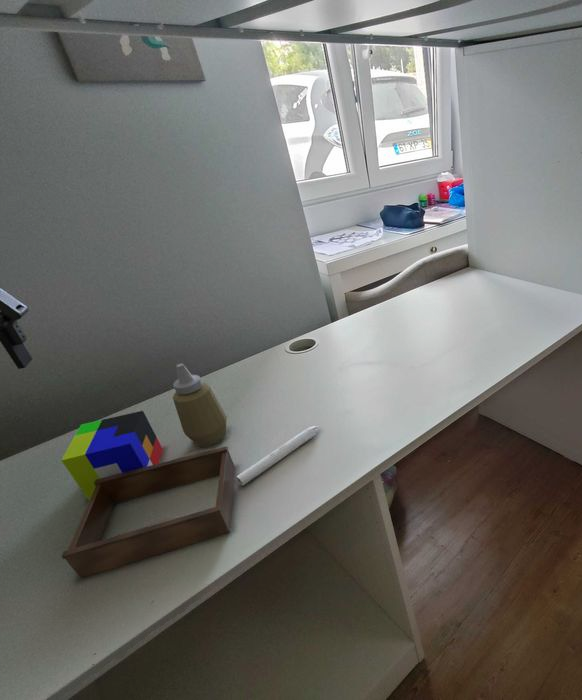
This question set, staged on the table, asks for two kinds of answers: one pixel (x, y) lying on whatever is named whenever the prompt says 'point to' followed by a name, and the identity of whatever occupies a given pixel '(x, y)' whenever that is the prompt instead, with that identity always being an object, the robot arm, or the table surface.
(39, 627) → the table surface
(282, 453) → the marker
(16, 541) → the table surface
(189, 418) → the squeeze bottle
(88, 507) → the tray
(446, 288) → the table surface
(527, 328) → the table surface
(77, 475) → the puzzle toy
